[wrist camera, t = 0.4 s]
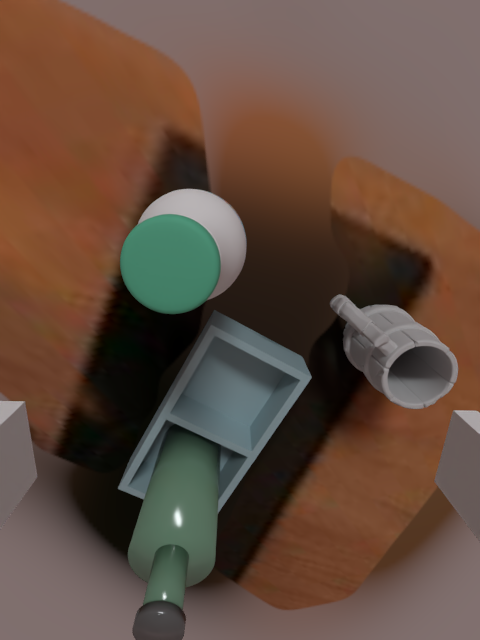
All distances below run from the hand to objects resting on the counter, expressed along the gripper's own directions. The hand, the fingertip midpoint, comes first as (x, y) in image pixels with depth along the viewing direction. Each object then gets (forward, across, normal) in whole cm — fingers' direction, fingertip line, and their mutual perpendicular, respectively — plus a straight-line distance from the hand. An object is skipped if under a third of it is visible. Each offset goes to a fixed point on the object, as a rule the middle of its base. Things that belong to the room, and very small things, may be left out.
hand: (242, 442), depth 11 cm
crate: (+26, -2, -16) cm, 31 cm away
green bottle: (+26, -4, -20) cm, 33 cm away
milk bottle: (+27, -3, +4) cm, 27 cm away
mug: (+26, +14, -4) cm, 30 cm away
